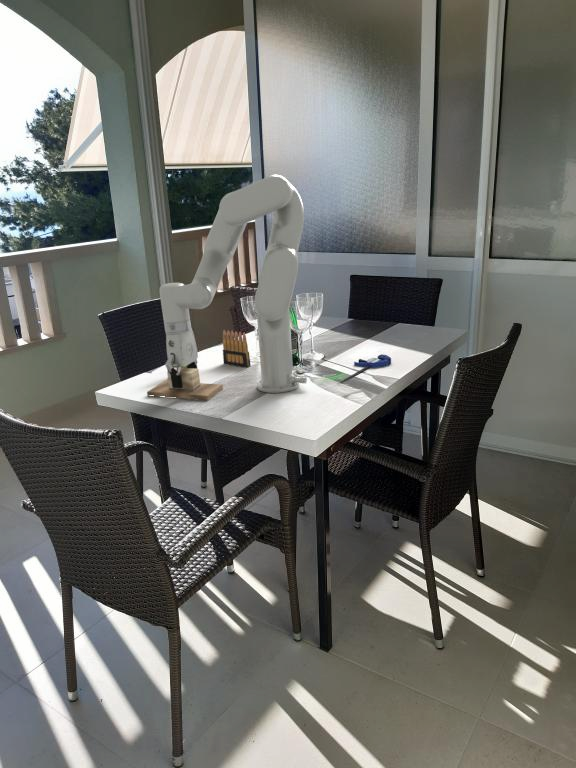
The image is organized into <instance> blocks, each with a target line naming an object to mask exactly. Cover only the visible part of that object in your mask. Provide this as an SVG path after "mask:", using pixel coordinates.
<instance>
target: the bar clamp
mask: <svg viewBox="0 0 576 768" xmlns="http://www.w3.org/2000/svg"><path fill="white" fill-rule="evenodd" d="M353 363H354V364H353V365H354V366H356V367H362V368H361V369H359V370H358V371H356V372H355V373H353V374H351V375H350V376H347V378H345V379H343V380H342V381H340V382H339V383H337V385H341V384H343V383H345V382H347V381H349V380H351V379H352V378H354V377H355V376H358V375H359V374H360V373H363V372H364V371H366V370H367V369H376V368H383V367H387V366H390V365H391V364H392V358H391V356H388V355H387V354H380V355H378V356H377V357H376V358H375V357H372V358H369V359H367V360H365V359H362V358H359V359H358V361H353Z"/></svg>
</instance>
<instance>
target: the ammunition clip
mask: <svg viewBox="0 0 576 768" xmlns="http://www.w3.org/2000/svg"><path fill="white" fill-rule="evenodd" d="M248 345H249V344H248V341H247V335H246V333H245V332H243V333H242V332H241V331H239V332H237V331H236V330H235V332H233V330H231V331H229V329H228V330H227V332H226V330H225V329H223V331H222V346H223V347H222V348H223V349H222V359H223V364H224V365H227V364H228V366H233V365H234V366H235V367H239V366H240V367H241V368H245V367H246V369H248V368H250V367H252V366H251V357H250V356H251V355H250V351H249V347H248ZM240 367H239V368H240Z"/></svg>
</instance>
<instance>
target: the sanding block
mask: <svg viewBox="0 0 576 768" xmlns="http://www.w3.org/2000/svg"><path fill="white" fill-rule="evenodd" d="M174 369H175V370H176V371H177V368H174ZM199 371H200V369H199V368H197V369H193V368H181V370H180V374H179V375H181V377H182V384H183V387H182V388H173V387H172V381H171V375H169V372H168V371H167V372H166V373H167V381H168V382H169V390H182V391H194V390H196V389H197V388H199V387H200V383H201V380H200V372H199Z"/></svg>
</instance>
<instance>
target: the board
mask: <svg viewBox="0 0 576 768" xmlns="http://www.w3.org/2000/svg"><path fill="white" fill-rule="evenodd" d="M223 389H224V388H223V384H222V383H220V384H219V383H205V382H204V383H203V382H200V387H199V388H197V389H196V390H194V391H182V390H169V382H168V380H167V381H166V380H164V381H163V382H161V383H158V385H156V386H154V387H152V388H151V389H149V390H147V391H146V393H147V396H148V395H154V396H165V397H176V398H175V399H177V398H188V399H187V400H191V399H198V400H197V401H206V400H208V401H209V400H211V399H212V398H213V397H215V396H216V395H217V394H219V393H220V392H221V391H223ZM218 392H219V393H218ZM214 395H215V396H214ZM210 398H211V399H210Z"/></svg>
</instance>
